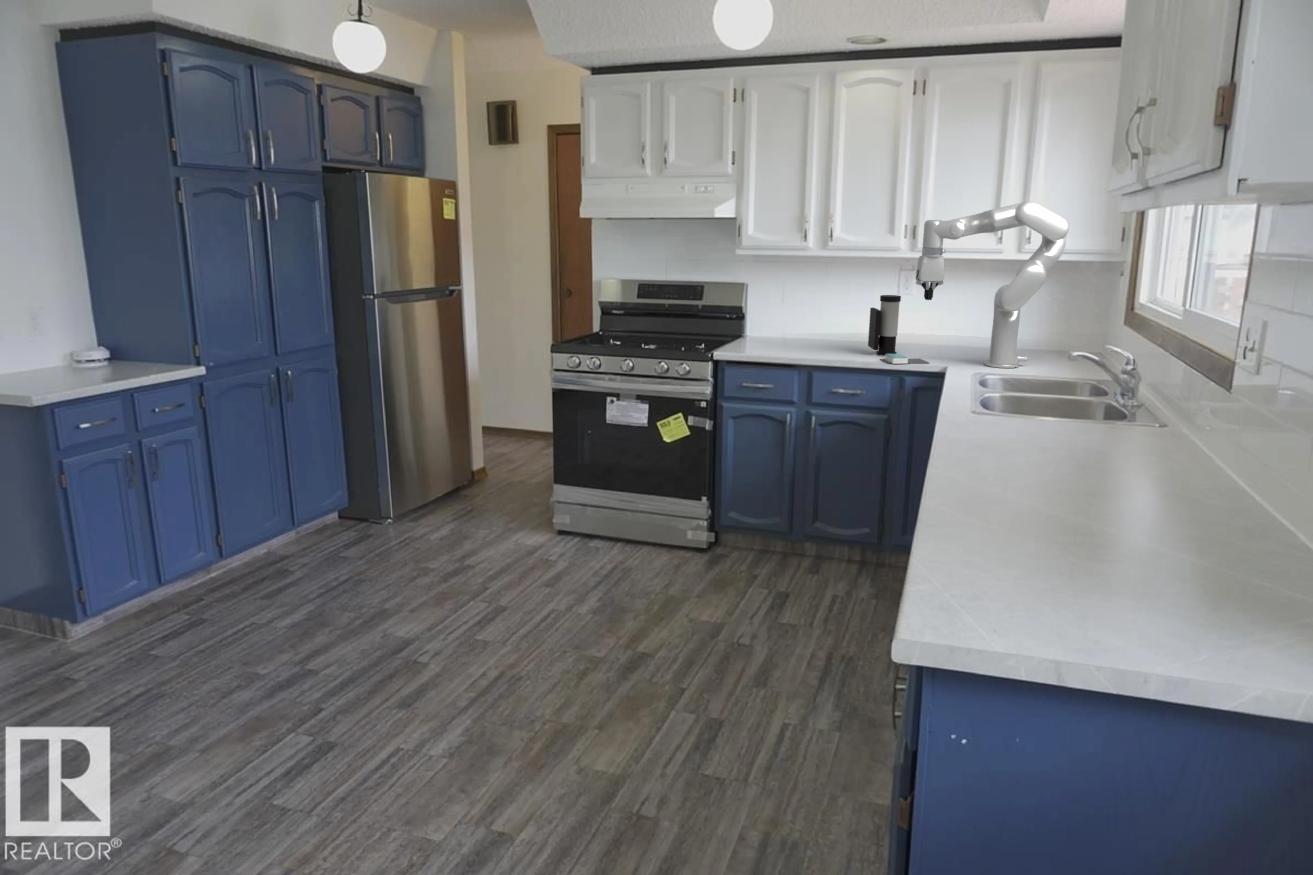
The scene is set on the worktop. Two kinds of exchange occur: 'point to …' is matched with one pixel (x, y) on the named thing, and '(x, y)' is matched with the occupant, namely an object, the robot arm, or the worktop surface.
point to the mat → (910, 361)
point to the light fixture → (884, 325)
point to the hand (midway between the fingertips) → (928, 299)
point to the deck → (896, 358)
